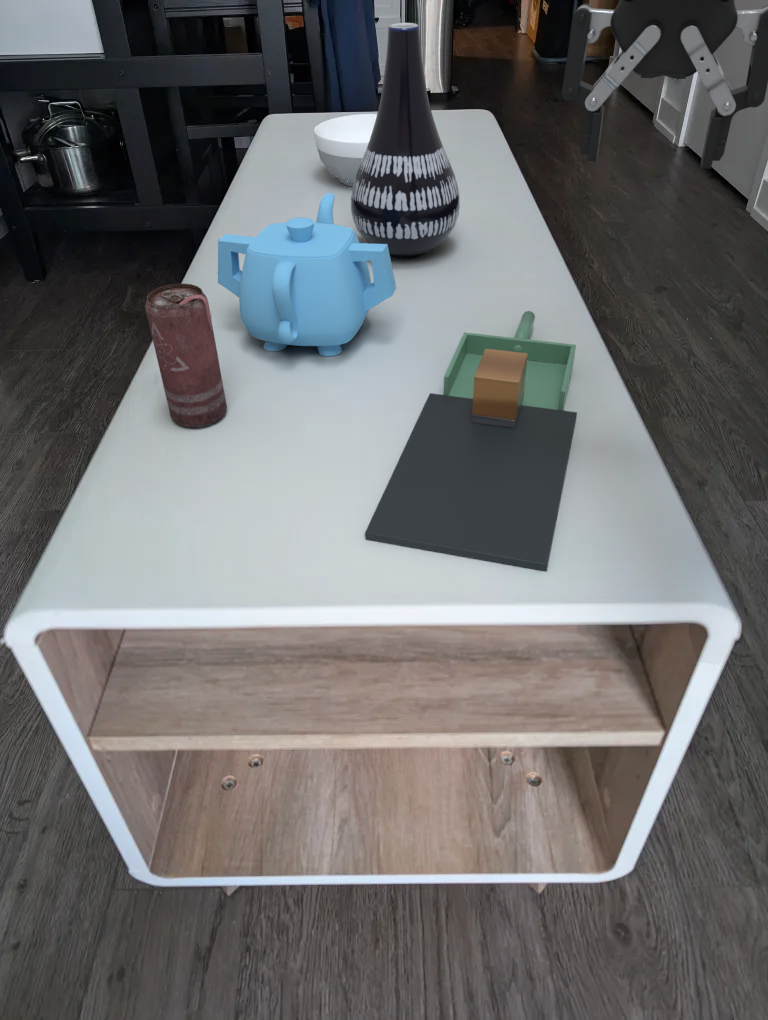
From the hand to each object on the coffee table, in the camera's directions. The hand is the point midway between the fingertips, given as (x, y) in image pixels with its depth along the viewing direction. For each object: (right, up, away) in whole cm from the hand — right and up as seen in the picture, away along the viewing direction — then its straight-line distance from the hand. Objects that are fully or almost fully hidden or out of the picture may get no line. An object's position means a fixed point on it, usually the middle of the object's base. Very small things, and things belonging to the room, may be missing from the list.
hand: (648, 162), depth 62 cm
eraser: (-9, -17, +22) cm, 29 cm away
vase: (-17, +12, +58) cm, 62 cm away
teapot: (-30, -4, +40) cm, 50 cm away
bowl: (-23, +34, +85) cm, 94 cm away
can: (-41, -17, +25) cm, 51 cm away
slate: (-11, -24, +15) cm, 30 cm away
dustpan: (-5, -10, +31) cm, 33 cm away
